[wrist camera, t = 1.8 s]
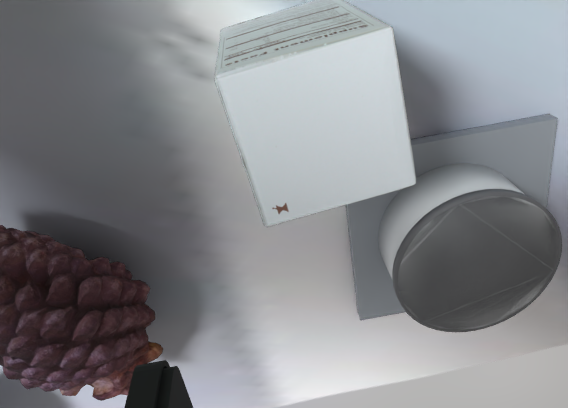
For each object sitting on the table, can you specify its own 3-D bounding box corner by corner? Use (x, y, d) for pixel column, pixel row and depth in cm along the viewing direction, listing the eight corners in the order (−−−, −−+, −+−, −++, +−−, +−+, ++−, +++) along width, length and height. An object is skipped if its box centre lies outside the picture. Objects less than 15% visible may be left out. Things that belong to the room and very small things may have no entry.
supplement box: (357, 105, 33) (420, 191, 22) (251, 134, 33) (261, 234, 22) (335, -11, 29) (398, 22, 18) (217, 24, 30) (208, 77, 19)
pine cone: (-67, 225, 34) (-169, 324, 25) (32, 143, 32) (-42, 220, 23) (118, 362, 42) (88, 474, 33) (208, 304, 40) (201, 407, 31)
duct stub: (339, 152, 34) (359, 191, 29) (549, 113, 34) (605, 145, 29) (357, 312, 42) (375, 366, 36) (530, 280, 42) (572, 329, 37)
